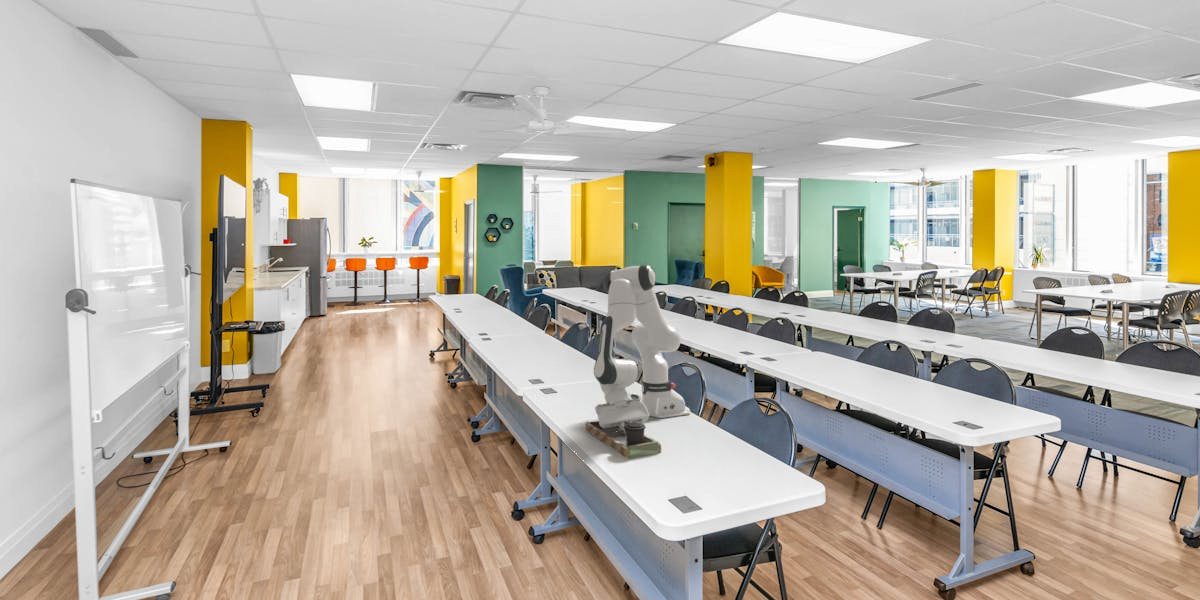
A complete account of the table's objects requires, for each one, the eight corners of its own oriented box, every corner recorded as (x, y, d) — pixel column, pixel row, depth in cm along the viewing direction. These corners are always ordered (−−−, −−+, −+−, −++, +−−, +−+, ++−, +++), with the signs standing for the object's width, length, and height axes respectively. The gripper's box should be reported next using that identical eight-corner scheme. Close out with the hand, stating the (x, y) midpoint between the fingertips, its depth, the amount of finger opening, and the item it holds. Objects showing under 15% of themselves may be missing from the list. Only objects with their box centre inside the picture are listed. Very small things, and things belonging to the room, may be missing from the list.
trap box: (585, 429, 257) (585, 420, 257) (616, 425, 263) (616, 415, 263) (627, 458, 225) (627, 447, 224) (660, 452, 231) (661, 441, 230)
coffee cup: (636, 444, 239) (636, 419, 237) (650, 451, 232) (650, 424, 231) (619, 449, 234) (619, 423, 233) (632, 455, 227) (632, 429, 226)
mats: (592, 430, 256) (592, 430, 256) (614, 427, 260) (614, 426, 260) (604, 438, 246) (604, 438, 246) (627, 435, 250) (627, 434, 250)
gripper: (596, 400, 238) (607, 433, 230) (643, 394, 246) (656, 426, 239) (591, 409, 242) (602, 441, 235) (638, 403, 251) (650, 434, 243)
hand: (630, 433), depth 237 cm, fingers closed, pressing on coffee cup
